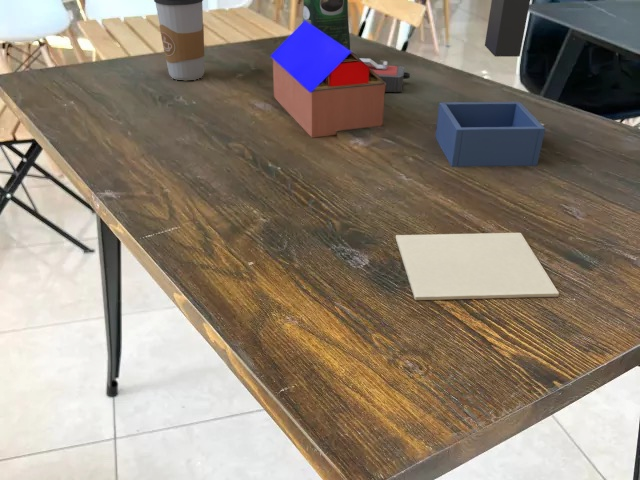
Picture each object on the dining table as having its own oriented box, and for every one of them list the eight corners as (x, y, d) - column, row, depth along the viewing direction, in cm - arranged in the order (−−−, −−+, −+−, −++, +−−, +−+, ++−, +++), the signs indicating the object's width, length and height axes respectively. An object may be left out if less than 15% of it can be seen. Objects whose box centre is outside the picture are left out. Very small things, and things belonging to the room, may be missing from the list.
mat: (520, 235, 72) (520, 232, 72) (558, 296, 62) (559, 293, 62) (395, 238, 71) (395, 235, 71) (414, 300, 62) (415, 297, 61)
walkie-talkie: (409, 79, 119) (301, 73, 121) (411, 54, 116) (301, 48, 118) (408, 94, 112) (293, 88, 114) (410, 67, 109) (293, 62, 111)
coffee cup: (155, 75, 119) (142, -16, 110) (193, 67, 123) (184, -21, 114) (180, 86, 114) (169, -8, 105) (219, 77, 118) (211, -14, 109)
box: (512, 139, 95) (520, 101, 92) (536, 169, 87) (545, 128, 83) (434, 140, 94) (439, 102, 91) (451, 170, 86) (456, 129, 83)
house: (337, 90, 113) (339, 18, 106) (385, 129, 98) (391, 48, 91) (271, 96, 110) (269, 22, 103) (310, 138, 95) (310, 55, 88)
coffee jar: (340, 52, 133) (342, -51, 122) (354, 62, 127) (359, -45, 116) (295, 56, 130) (294, -49, 119) (308, 66, 124) (308, -43, 113)
